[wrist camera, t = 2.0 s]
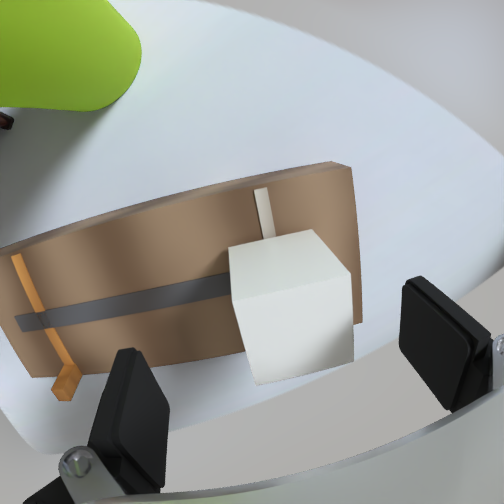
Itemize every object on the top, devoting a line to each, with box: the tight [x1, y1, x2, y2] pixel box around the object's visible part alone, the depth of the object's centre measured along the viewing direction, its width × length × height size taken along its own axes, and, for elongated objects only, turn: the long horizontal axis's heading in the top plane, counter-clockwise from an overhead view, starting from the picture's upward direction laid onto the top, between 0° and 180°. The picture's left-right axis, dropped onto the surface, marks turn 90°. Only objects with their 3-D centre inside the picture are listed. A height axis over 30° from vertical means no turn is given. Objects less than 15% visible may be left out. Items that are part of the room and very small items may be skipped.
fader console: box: [0, 161, 362, 401], centre depth 16 cm, size 23×9×6 cm, turn 102°
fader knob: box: [228, 229, 354, 386], centre depth 13 cm, size 4×4×5 cm
